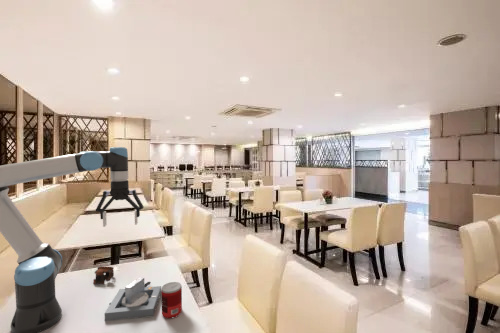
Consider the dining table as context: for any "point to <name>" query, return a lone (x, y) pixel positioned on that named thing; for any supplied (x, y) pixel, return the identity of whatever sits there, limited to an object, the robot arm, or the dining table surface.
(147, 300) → the dial
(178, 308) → the canned food
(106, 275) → the pottery mug
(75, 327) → the dining table surface
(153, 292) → the grey square tray
